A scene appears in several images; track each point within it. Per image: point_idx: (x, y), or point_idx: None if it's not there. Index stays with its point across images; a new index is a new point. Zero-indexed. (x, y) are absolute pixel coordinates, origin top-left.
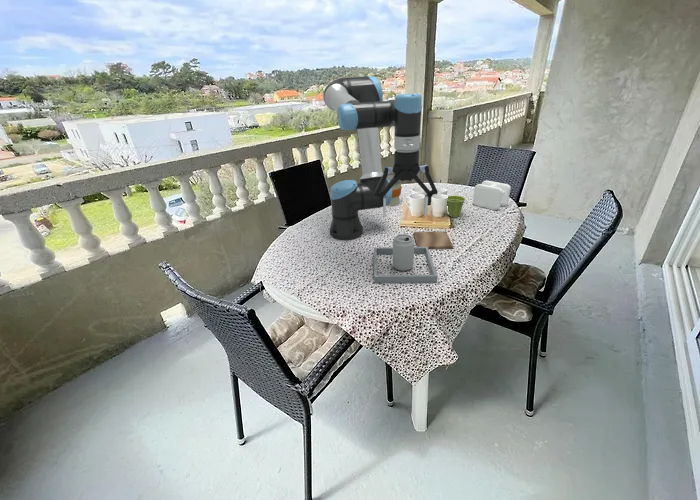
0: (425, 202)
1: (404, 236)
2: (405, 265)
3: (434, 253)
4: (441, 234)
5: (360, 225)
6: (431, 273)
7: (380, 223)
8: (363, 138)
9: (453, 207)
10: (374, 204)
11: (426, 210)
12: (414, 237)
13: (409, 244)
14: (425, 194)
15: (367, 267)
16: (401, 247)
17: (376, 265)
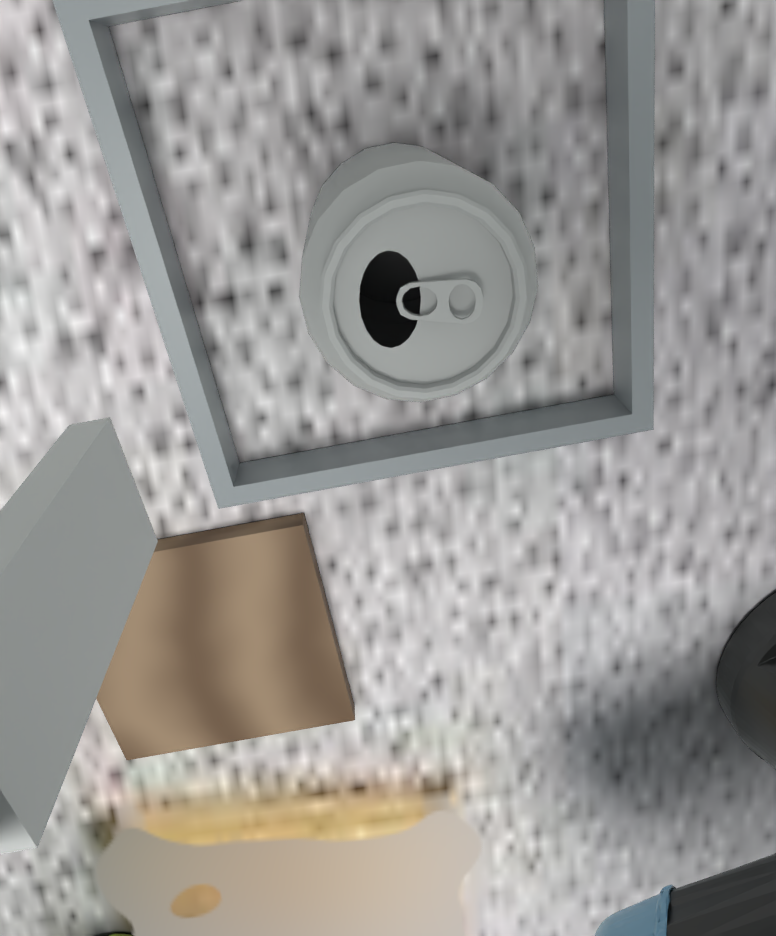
0: (7, 572)
1: (417, 367)
2: (369, 151)
3: (169, 476)
4: (150, 716)
5: (768, 707)
6: (141, 143)
7: (590, 803)
8: None
9: None
10: (742, 896)
11: (46, 470)
12: (342, 662)
13: (346, 205)
14: (9, 845)
15: (687, 173)
16: (434, 161)
17: (632, 117)
